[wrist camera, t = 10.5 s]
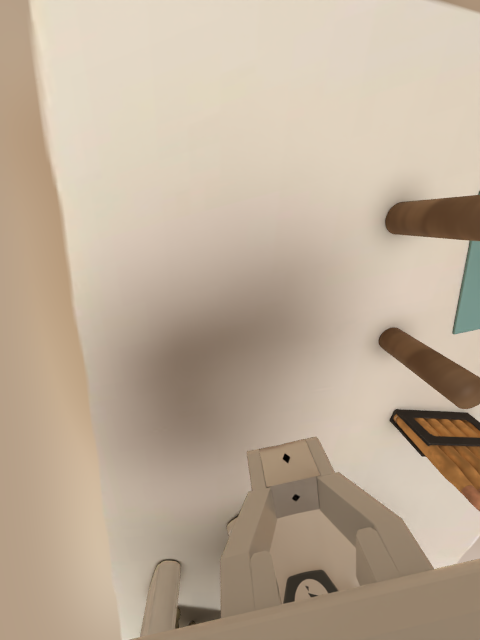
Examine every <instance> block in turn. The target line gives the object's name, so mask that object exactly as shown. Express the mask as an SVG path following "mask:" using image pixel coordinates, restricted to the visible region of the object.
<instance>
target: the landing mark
mask: <svg viewBox="0 0 480 640" xmlns="http://www.w3.org/2000/svg"><path fill="white" fill-rule="evenodd" d="M479 195H480V192H479ZM477 329H480V241H470V245H469V250H468V255H467V260H466V266H465V271H464V276H463V281H462V287H461V292H460V297H459V302H458V308H457V313H456V318H455V323H454V329H453V334H458V333H463V332H468V331H473V330H477Z"/></svg>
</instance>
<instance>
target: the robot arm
mask: <svg viewBox="0 0 480 640" xmlns="http://www.w3.org/2000/svg"><path fill="white" fill-rule="evenodd" d="M259 451H260V452H259ZM247 458H248V466H249V473H250V480H251V488H252V491H250V492H248V494H247V496H246V499H245V501H244V504H243V506H242V508H241V511H240V513H239V516H238V517H237V518H235V519H234V520H232V521H231V522H230V523H229V524H228V525H227V532H228V536H229V540H228V542H227V544H226V547H225V549H224V552H223V554H222V556H221V559H220V578H221V619H216V620H212V621H208V622H203V623H199V624H195V625H190V626H186V627H182V628H178V629H173V630H169V631H165V632H160V633H156V634H152V635H147V636H143V637H139V638H134V639H130V640H480V559H476V560H471V561H467V562H463V563H459V564H454V565H450V566H445V567H441V568H437V569H434V568H433V566H432V565H431V563H430V562H429V560H428V559H427V557H426V555H425V554H424V552H423V551H422V549H421V548H420V546H419V544H418V543H417V541H416V540H415V538H414V537H413V535H412V534H411V532H410V530H409V529H408V527H407V526H406V524H405V523H404V521H403V520H402V518H400V517H399V516H398V515H396V514H395V513H393V512H392V511H391V510H389V509H388V508H387V507H385V506H384V505H383V504H381V503H380V502H379V501H377V500H376V499H374V498H373V497H372V496H370V495H369V494H368V493H366V492H365V491H364V490H362V489H361V488H360V487H358V486H357V485H356V484H354V483H353V482H351V481H350V480H349V479H347V478H346V477H345V476H343V475H342V474H341V473H339V472H337V473H335V472H334V470H333V468H332V466H331V464H330V461H329V459H328V457H327V455H326V453H325V451H324V449H323V447H322V445H321V443H320V441H319V439H318V438H317V437H312V438H307V439H305V440H304V439H302V440H297V441H293V442H289V443H284V444H282V445H277V446H272V447H266V448H261V449H256V450H251V451H247Z"/></svg>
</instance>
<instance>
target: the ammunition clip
mask: <svg viewBox="0 0 480 640" xmlns="http://www.w3.org/2000/svg"><path fill="white" fill-rule="evenodd" d="M390 421H391V423H392V424H393V425H394V426H395V427H396V428H397V429H398V430H399V431H400V432H401V434H402V435H403V436H404V437H405V438H406V439H407V440H408V441H409V442H410V444H411V445H412V446H413V447H414V448H415V449H416V450H417V451H418V453H419V454H420V455H421V456H425V457H427V458H428V459H429V460H430V461H431V463H432V464H433V465H434V466H435V467H436V468H437V469H438V470H439V472H440V473H441V474H442V475H443V476H444V477H445V478H446V479H447V480H448V481H449V482H450V483H452V484H453V485H454V486H455V487H456V488H457V489H458V490H459V491H460V492H461V493H462V494H463V495H464V496H465V497H466V498H467V499H468V501H469V502H470V503H471V504H472V505H473V506H474V507H475V508H476V509H478V510H479V511H480V422H478V421H477V420H476V419H475V418H473V417H472V416H471V415H470V414H468V413H461V412H440V411H420V410H399V409H396V410H395V411H394V413H393V416H392V418H391V420H390Z"/></svg>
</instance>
